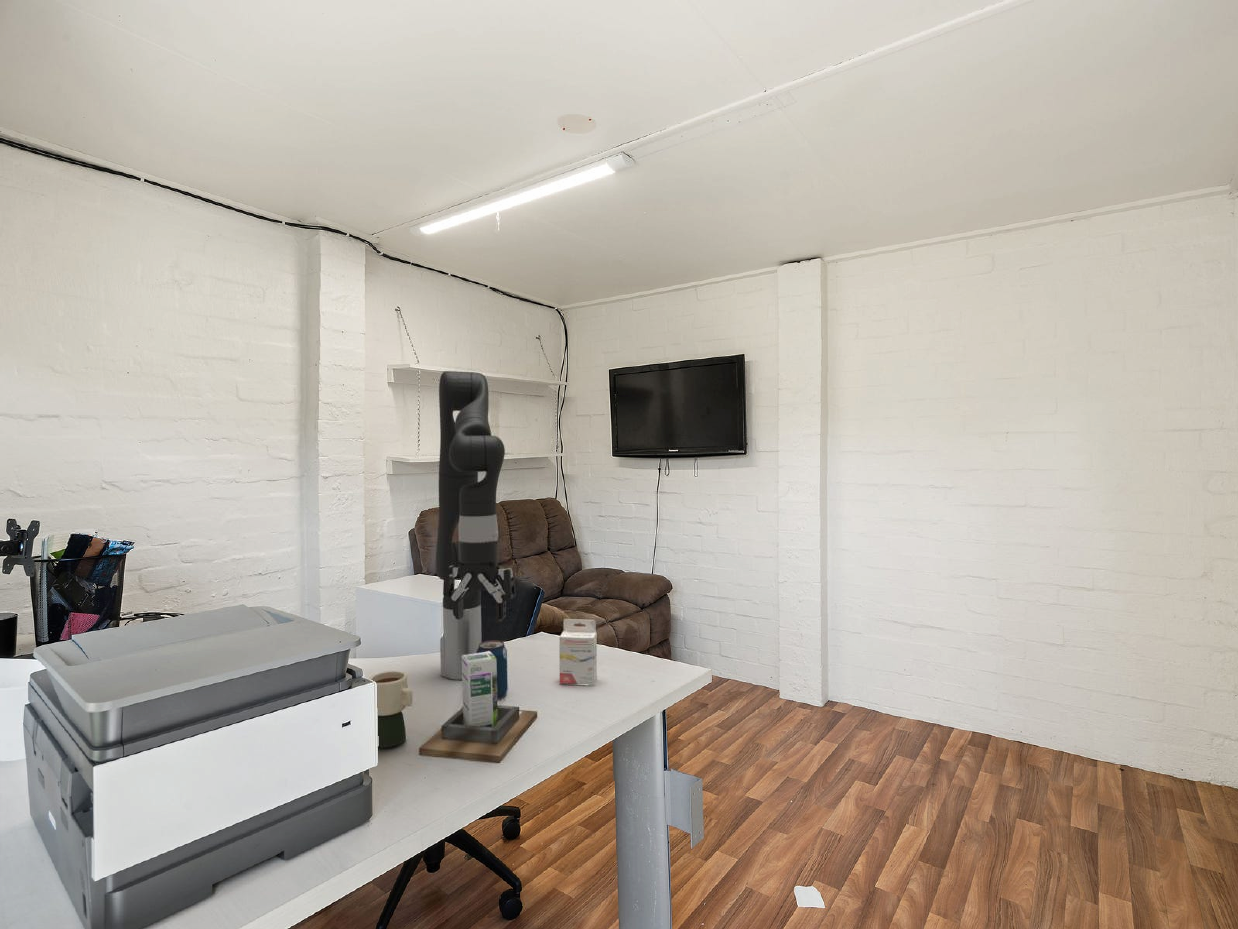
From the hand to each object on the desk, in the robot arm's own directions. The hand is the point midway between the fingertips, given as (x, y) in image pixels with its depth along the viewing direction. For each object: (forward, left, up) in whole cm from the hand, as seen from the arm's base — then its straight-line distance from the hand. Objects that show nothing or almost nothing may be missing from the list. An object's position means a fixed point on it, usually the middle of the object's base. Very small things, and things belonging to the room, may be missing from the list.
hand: (479, 619), depth 129 cm
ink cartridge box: (+11, +31, -23) cm, 40 cm away
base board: (0, 0, -23) cm, 23 cm away
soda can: (-6, +19, -23) cm, 31 cm away
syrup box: (0, 0, -22) cm, 22 cm away
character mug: (-16, -7, -23) cm, 29 cm away
